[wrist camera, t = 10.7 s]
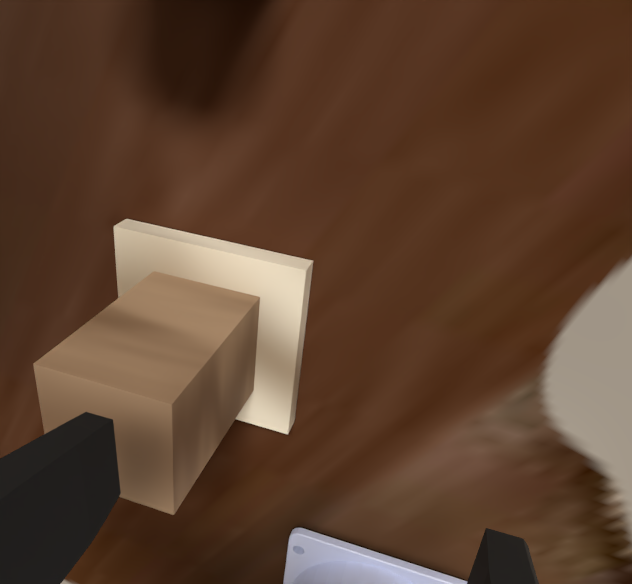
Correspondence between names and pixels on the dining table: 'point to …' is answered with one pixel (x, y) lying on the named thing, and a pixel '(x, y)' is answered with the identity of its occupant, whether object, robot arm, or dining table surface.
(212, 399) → the walnut block
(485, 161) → the dining table surface
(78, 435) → the robot arm
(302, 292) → the birch pad
